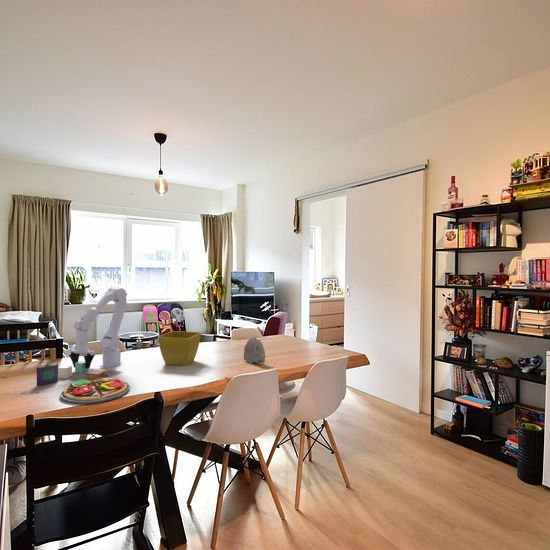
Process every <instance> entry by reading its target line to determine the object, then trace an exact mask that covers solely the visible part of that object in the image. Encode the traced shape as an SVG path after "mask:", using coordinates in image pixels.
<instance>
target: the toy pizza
mask: <svg viewBox="0 0 550 550" xmlns="http://www.w3.org/2000/svg"><path fill="white" fill-rule="evenodd" d="M130 389H131V385H130V384H129V383H128V382H126V381H124V380H122V379H118V378H114V377H110V378H101V379H97V380H93V381H88V380H78V381H74V382H73V383H71V384H69V385H67V386H66V387H65V388H64V389H63V390H62V391H61V392H60V394H59V395H60V398H61V399H63V400H64V401H65V402H68V403H73V404H93V403H101V402H105V401H106V402H107V401H110V400H111V401H112V400H114V399H117V398H119V397H121V396H123V395H125V394H126V393H127V392H128V391H129V390H130Z"/></svg>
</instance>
